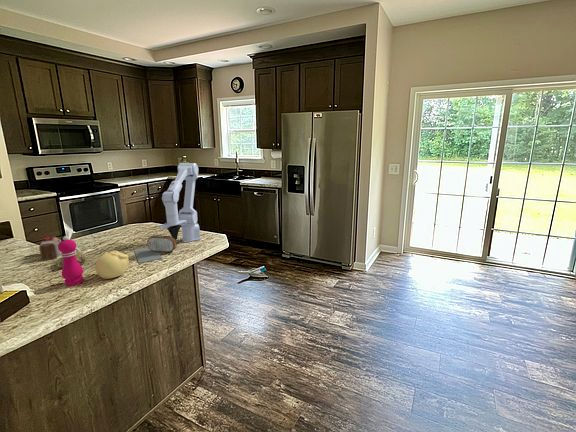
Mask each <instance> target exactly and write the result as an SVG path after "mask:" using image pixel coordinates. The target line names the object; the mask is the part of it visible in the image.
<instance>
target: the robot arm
mask: <svg viewBox="0 0 576 432" xmlns="http://www.w3.org/2000/svg"><path fill="white" fill-rule="evenodd" d="M198 178H199V166H198V164H197V163H196V162H193V163H191V162H187V163H186V162H184V163H183V162H179V164H178V165H177V175H176V177H175V180H172V181H171V182H170V184H169V187H168V188H167V190H166V191H164V192H163V193H162V194H161V195H162V196H161V200H162V203H163V206H164V207H165V217H166V222H165V223H163V224H161V225H158V228H159V230H161V231H163V230H164V229H167V231H168V232H169V234H170V236H171V237H173V238H174V239H175V240H176V241H177V240H178V235H179V232H180V229H181V235H182V237H181V238H180V239H181V240H182V242H183V243H188V242H194V241H200V240H201V231H200V229H201V228H200V225H199V223H198V212H197V210H195V209H194V199H195V198H194V197H195V189H196V180H198ZM183 181H185V187H184V189H185V191H184V197H183V199H184V201H183V207H181V209H179V211H178V202H179V200H180V193H181V190H182V188H183V184H182V183H183Z"/></svg>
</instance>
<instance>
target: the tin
mask: <svg viewBox="0 0 576 432" xmlns="http://www.w3.org/2000/svg"><path fill="white" fill-rule="evenodd" d="M146 245H147V248H149V249H151V250H152V251H158V252H159V253H161V252H162V253H171V252H173V251H174V250H176V248H177V246H178V243H177V240H175V239H174V238H173V237H172V236H171V235H163V234H162V235H160V234H153V235H151V236H150V237H148V239H147V241H146Z"/></svg>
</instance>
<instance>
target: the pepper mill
mask: <svg viewBox="0 0 576 432" xmlns="http://www.w3.org/2000/svg"><path fill="white" fill-rule="evenodd" d="M76 246H77V243H76V241H75V240H73V239H69V236H66V235H64V236H63V238H62V240H61V242H60V243H59V244H58V250H59V251H61V252H60V255H61V258H62V257H63V259H64V265H63V267H62V269H61V277H62V278H63V279H64V285H65V286H67V287H75V286H77V285H79V284H82V283H83V282H84V280H85V279H84V276H83V274H84V268H83V267H82V264H79V263H78V261H77V259H76V250H75V249H76Z"/></svg>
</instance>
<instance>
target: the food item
mask: <svg viewBox="0 0 576 432" xmlns="http://www.w3.org/2000/svg"><path fill="white" fill-rule="evenodd" d="M61 241H62V240H61V239H60V238H59V237H56V235H55V236H49V237H43V238H42V240H41V243H40V245H38V246H39V247H38V248H39V254H40V257H41V259H42V261H49V260H56V259H57V258H58V256H60V255H61V251H59V250H58V244H59V243H60V242H61Z"/></svg>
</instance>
